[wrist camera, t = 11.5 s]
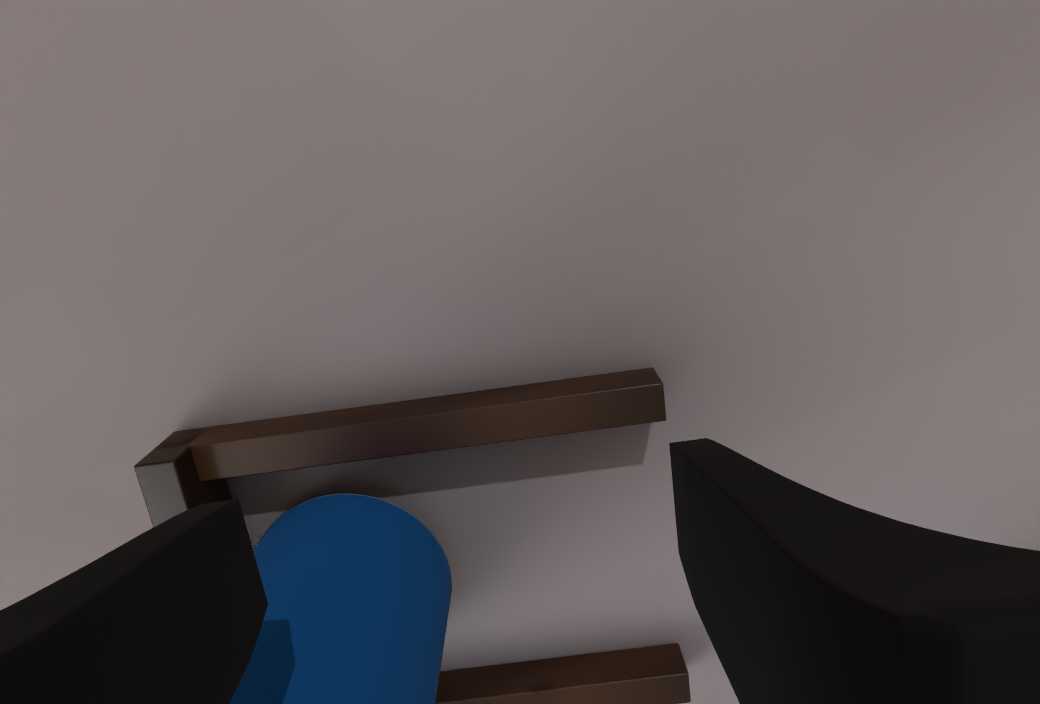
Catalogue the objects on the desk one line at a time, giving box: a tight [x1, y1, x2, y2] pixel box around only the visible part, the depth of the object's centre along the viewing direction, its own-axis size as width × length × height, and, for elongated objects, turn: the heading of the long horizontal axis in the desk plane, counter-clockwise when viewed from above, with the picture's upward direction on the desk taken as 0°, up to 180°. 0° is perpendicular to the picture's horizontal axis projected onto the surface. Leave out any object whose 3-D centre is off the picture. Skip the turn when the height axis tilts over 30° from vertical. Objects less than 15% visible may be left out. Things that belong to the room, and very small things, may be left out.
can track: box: [134, 368, 691, 704], centre depth 22 cm, size 15×11×2 cm
